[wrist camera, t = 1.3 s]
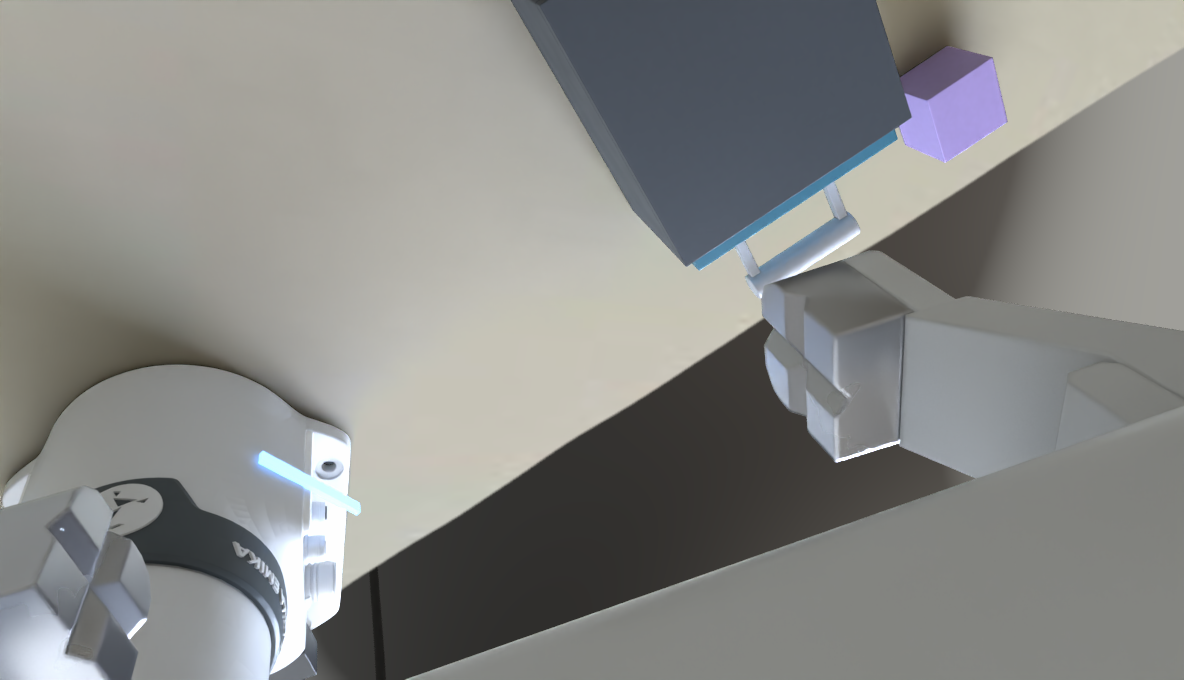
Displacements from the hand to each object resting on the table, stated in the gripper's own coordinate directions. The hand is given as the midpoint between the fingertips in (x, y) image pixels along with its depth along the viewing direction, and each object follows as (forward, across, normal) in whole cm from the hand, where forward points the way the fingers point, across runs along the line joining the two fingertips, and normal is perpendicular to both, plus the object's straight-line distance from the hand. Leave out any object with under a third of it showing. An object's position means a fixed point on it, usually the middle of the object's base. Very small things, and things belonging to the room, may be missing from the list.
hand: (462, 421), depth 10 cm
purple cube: (+35, +32, -11) cm, 49 cm away
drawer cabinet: (+35, +16, -4) cm, 39 cm away
